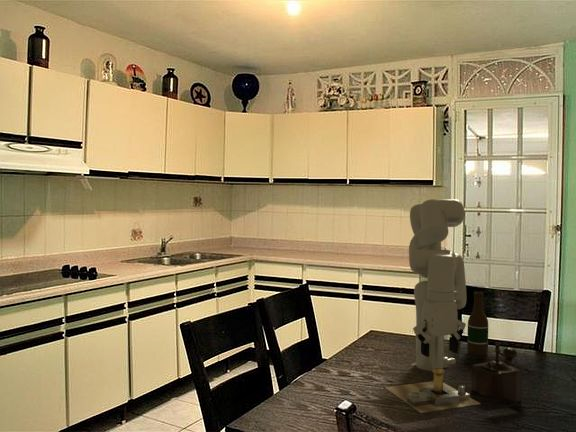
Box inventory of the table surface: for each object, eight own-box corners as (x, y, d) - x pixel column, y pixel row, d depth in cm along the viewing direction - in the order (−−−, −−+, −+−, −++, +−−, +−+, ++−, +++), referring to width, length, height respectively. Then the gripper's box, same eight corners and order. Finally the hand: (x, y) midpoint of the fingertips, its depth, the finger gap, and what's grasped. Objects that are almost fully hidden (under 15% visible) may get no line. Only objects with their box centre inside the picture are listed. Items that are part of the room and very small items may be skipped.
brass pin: (439, 397, 154) (440, 367, 154) (446, 401, 151) (447, 371, 150) (429, 398, 153) (430, 368, 152) (436, 403, 150) (437, 372, 149)
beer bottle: (465, 349, 208) (466, 290, 207) (485, 350, 206) (486, 290, 206) (469, 355, 200) (470, 293, 199) (490, 356, 199) (491, 294, 198)
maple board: (439, 384, 168) (439, 380, 168) (480, 408, 149) (480, 403, 149) (384, 392, 162) (384, 387, 162) (420, 418, 143) (420, 412, 143)
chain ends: (457, 391, 159) (457, 381, 158) (474, 401, 151) (475, 391, 151) (403, 399, 152) (403, 388, 152) (418, 409, 145) (418, 399, 145)
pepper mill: (468, 394, 160) (469, 337, 159) (495, 389, 165) (496, 333, 164) (508, 414, 146) (510, 350, 145) (536, 407, 151) (538, 346, 150)
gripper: (457, 291, 157) (456, 346, 158) (407, 295, 151) (406, 352, 153) (473, 296, 150) (472, 354, 151) (422, 301, 144) (421, 361, 146)
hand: (439, 353), depth 152 cm, fingers open, 9 cm apart
